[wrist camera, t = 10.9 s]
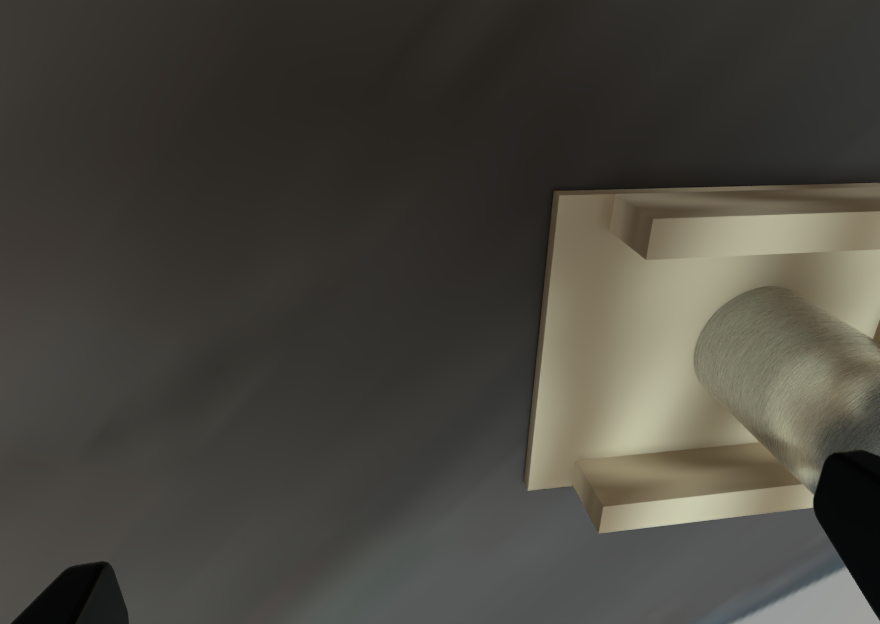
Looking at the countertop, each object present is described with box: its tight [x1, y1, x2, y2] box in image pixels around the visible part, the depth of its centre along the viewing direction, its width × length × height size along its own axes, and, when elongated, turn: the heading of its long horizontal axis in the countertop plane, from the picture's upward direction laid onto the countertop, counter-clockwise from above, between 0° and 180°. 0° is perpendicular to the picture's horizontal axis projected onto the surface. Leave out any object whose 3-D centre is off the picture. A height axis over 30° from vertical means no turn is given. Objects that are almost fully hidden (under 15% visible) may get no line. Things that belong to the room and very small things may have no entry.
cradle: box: [524, 183, 880, 533], centre depth 23 cm, size 16×11×3 cm
